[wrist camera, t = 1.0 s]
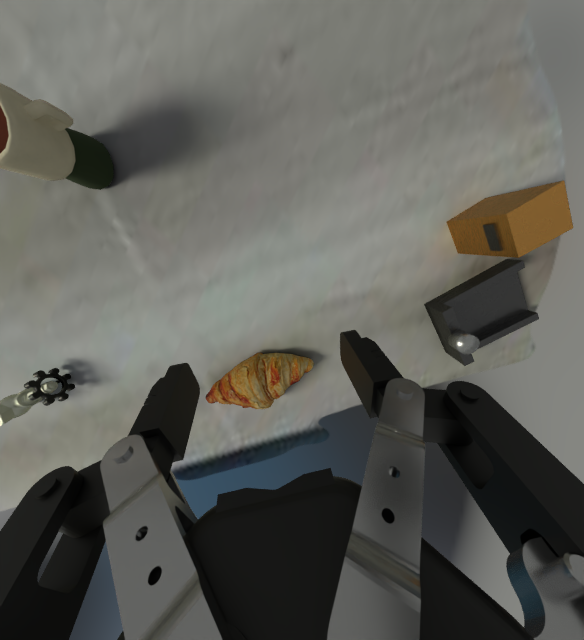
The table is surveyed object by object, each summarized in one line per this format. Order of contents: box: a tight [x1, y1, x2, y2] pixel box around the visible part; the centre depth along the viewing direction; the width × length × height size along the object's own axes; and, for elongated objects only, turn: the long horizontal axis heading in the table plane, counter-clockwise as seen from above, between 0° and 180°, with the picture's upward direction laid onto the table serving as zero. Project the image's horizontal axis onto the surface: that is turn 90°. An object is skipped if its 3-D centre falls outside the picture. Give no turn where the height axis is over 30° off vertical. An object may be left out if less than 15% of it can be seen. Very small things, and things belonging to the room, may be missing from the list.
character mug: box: [0, 83, 113, 190], centre depth 25 cm, size 11×7×13 cm, turn 110°
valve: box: [0, 368, 75, 426], centre depth 40 cm, size 7×7×12 cm
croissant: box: [206, 353, 314, 409], centre depth 40 cm, size 21×10×8 cm, turn 112°
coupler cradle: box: [424, 259, 539, 366], centre depth 35 cm, size 15×11×7 cm
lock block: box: [447, 181, 573, 258], centre depth 29 cm, size 6×6×10 cm
